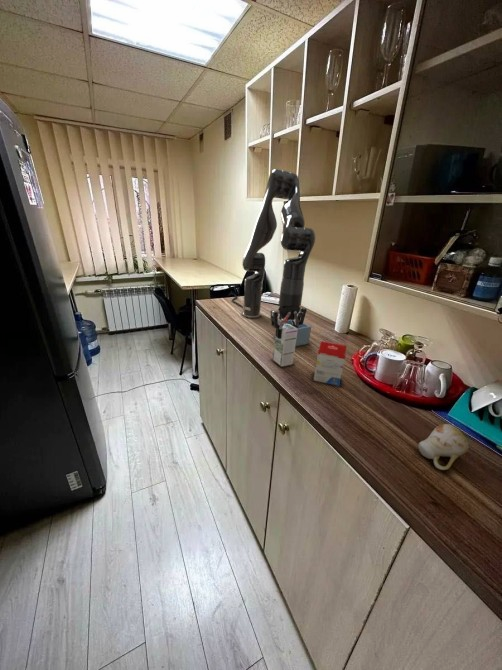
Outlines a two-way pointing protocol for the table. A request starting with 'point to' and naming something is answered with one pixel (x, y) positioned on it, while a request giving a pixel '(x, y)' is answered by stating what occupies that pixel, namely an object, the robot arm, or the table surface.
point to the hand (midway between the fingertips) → (285, 336)
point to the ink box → (330, 363)
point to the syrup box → (285, 346)
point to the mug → (444, 445)
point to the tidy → (302, 333)
